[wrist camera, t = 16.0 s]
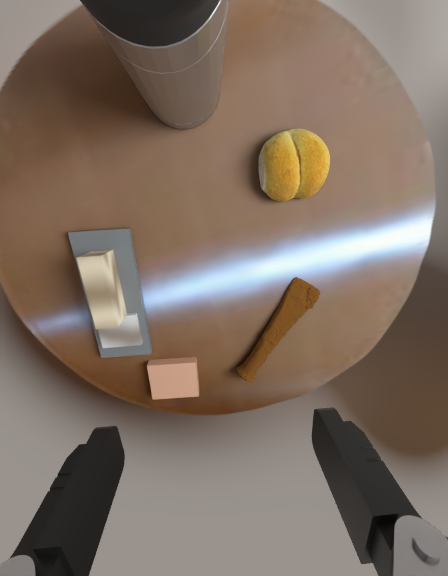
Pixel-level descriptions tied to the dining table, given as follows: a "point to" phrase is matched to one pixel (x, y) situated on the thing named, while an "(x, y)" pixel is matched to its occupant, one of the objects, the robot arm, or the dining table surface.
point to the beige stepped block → (108, 300)
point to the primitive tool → (280, 324)
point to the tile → (173, 378)
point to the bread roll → (293, 165)
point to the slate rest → (128, 279)
